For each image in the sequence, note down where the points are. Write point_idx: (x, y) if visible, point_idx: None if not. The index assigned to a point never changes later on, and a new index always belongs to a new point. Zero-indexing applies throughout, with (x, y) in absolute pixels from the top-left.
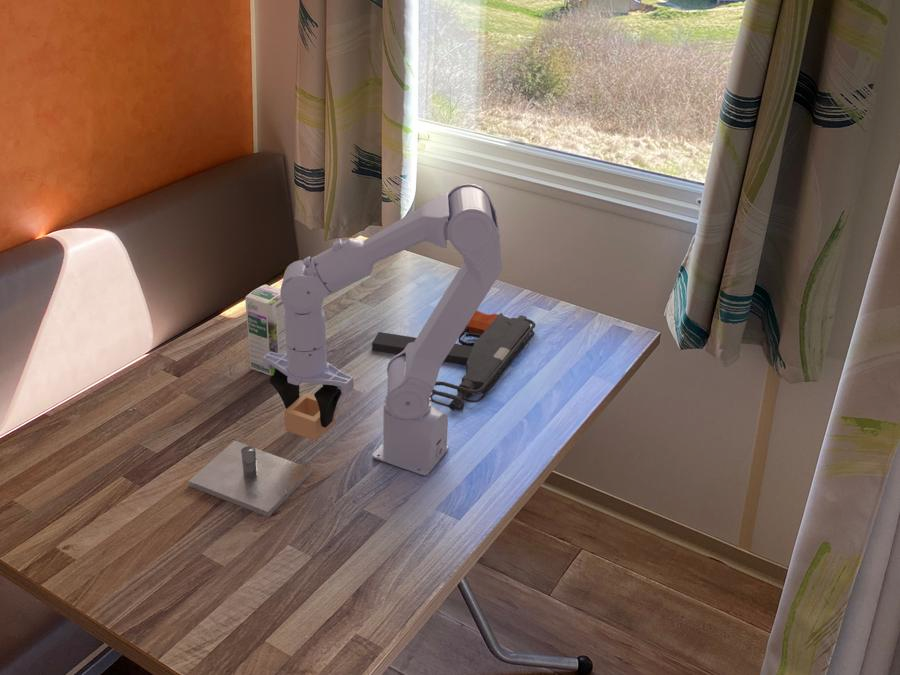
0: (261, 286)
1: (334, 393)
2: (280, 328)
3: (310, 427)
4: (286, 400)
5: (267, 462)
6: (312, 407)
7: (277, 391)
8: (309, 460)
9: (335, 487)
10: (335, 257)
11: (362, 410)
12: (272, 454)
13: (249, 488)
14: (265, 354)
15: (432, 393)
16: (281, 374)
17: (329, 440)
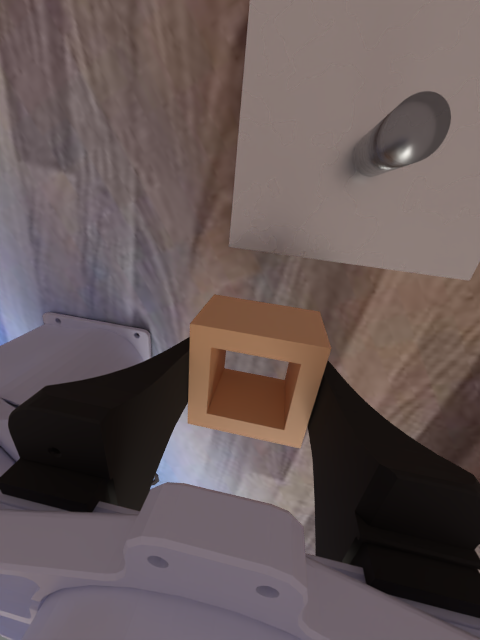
0: None
1: (15, 445)
2: None
3: (220, 313)
4: (337, 394)
5: (343, 226)
6: (263, 402)
7: (396, 427)
8: (256, 286)
9: (162, 220)
10: None
11: (231, 436)
12: (342, 262)
13: (354, 83)
14: (476, 549)
15: (157, 481)
16: (416, 553)
17: (247, 354)
